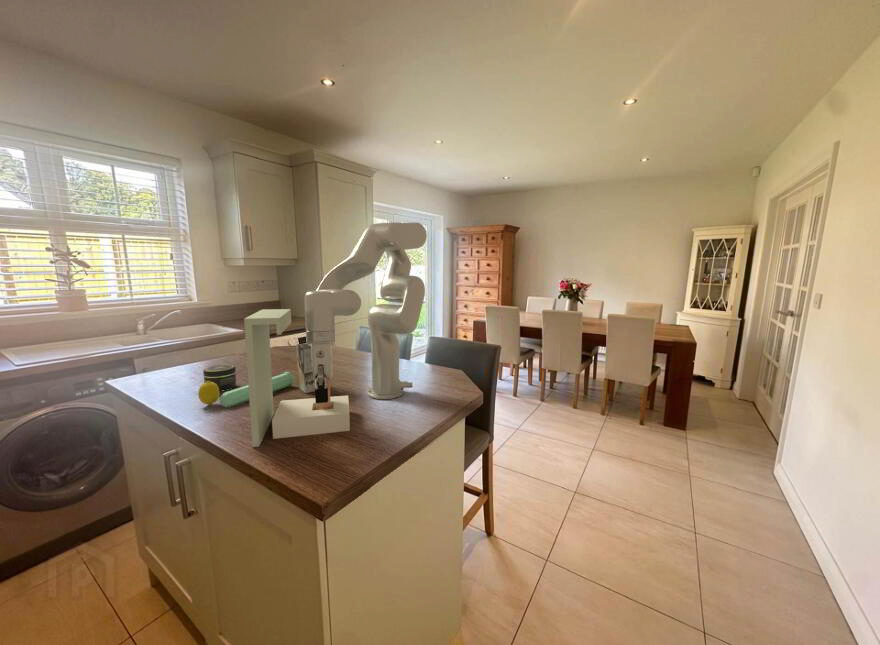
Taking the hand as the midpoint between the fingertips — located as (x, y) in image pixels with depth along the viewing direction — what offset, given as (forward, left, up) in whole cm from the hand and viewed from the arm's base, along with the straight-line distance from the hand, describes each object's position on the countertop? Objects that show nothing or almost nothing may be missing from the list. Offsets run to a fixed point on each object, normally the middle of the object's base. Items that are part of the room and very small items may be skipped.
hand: (322, 396), depth 98 cm
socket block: (+2, 0, -8) cm, 8 cm away
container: (+22, -28, -8) cm, 37 cm away
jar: (+37, -40, -8) cm, 55 cm away
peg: (0, 0, -7) cm, 7 cm away
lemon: (+35, -22, -8) cm, 42 cm away
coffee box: (+6, -32, -8) cm, 34 cm away
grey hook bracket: (+12, +1, -8) cm, 14 cm away
